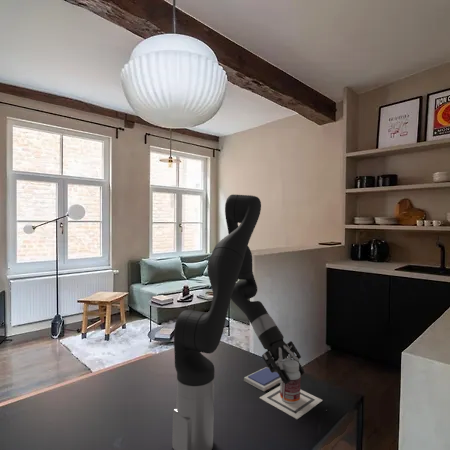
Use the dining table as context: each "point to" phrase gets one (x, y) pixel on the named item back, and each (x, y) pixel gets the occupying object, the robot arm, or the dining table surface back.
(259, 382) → the ink pad
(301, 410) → the white flat square slab
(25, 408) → the dining table surface
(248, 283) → the robot arm
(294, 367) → the pill bottle
